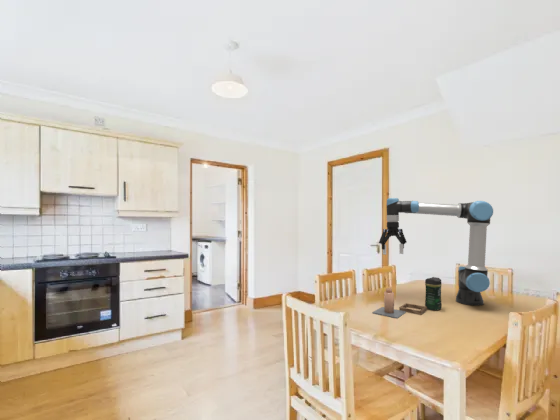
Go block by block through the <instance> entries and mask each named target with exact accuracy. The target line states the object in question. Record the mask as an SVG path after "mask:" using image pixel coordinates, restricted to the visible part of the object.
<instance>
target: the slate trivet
mask: <svg viewBox="0 0 560 420" xmlns="http://www.w3.org/2000/svg"><path fill="white" fill-rule="evenodd" d="M406 313H407V312H406V311H401V310H399V309H395V308H394V313H386V312H384V306H381V307H379V308H377V309H375V310H374V311H372V314H375V315H379V316H384V317H387V318H388V317H389V318H393V319H399V318H400V317H402V316H404V314H406Z"/></svg>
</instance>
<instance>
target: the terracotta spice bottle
mask: <svg viewBox="0 0 560 420" xmlns="http://www.w3.org/2000/svg"><path fill="white" fill-rule="evenodd" d="M385 288H386V287H385ZM392 289H393V288H391V287H390V288H386V289H385V291H384V292H383V293H384V294H383V295H384V297H383V302H384V304H383V307H384V312H386V313H394V309H395V292H393V290H392Z"/></svg>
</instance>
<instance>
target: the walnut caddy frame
mask: <svg viewBox="0 0 560 420" xmlns="http://www.w3.org/2000/svg"><path fill="white" fill-rule="evenodd" d="M398 310H401V311H406V313H408V314H414V315H419V316H422V315H423V314H424V313H426V312H427V311H428V309H427V307H426V306H425V305H419V304H414V303H408V302H406V303H404V304H403V305H401V306H399V308H398Z"/></svg>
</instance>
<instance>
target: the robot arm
mask: <svg viewBox="0 0 560 420" xmlns="http://www.w3.org/2000/svg"><path fill="white" fill-rule="evenodd" d="M399 213H400V214H401V213H403V214H415V215H416V214H417V215H419V214H420V215H433V216H447V217H449V216H451V217H457V218H458V219H466V221H467V223H466V224H468V225H469V237H468V240H469V241H468V257H467V265H466V266H462V265H461V266H459V267H458V271H457V272H458V290H457V293H456V295H455V301H456V302H457V303H459V304H463V305H467V306H483V305H484V304H485V303H484V299H483V296H482V295H483V294H482V293H483V292H485V291H487V290H488V289H489V287H490V285H491V283H490V279H489V277H488V272H489V270H488V269H487V267H486V249H487V232H488V231H487V230H488V229H487V228H488V226H489V225H491V218H492V217H493V215H494V208H493V206H492V204H490V203H489V202H487V201H484V200H476V201H473V202H472V201H471V202H465V203H463V202H462V203H461V202H459V203H458V204H454V203H453V204H452V203H451V204H450V203H431V202H419V201H418V200H403V201H401V200H399V198H398V197H389V198H387V199H386V221H387V222H386V228H384V229H382V233H381V236H380V239H379V241H378V244H380V245H381V250H382V255H385V256H386V255H387V244H386V243H387V242H388V241H389V239H390V238H391V237H396V239H397V240H398V242H399V248H398V249H399V255H400V254H401V255H404V248H405V244H407V239H406V237H405V234H404V231H403V228H399V227H400V223H399V222H400V214H399Z"/></svg>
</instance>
